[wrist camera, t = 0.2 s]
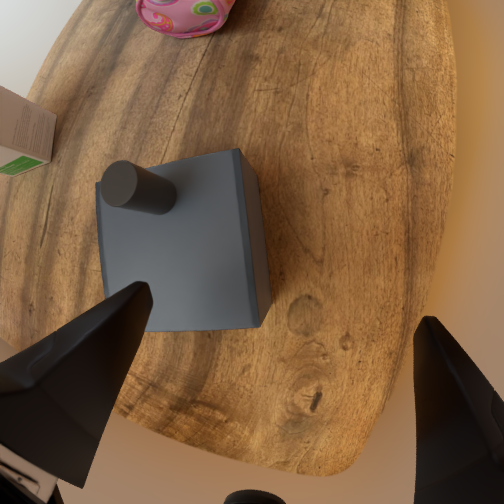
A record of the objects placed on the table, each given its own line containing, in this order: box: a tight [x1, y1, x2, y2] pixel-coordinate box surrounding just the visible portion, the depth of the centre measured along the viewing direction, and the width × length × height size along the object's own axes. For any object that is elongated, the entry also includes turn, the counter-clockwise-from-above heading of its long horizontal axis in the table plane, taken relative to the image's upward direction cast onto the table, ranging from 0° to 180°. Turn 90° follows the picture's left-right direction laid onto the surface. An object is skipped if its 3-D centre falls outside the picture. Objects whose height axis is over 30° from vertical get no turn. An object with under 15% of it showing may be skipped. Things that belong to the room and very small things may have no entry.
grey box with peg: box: [96, 148, 272, 332], centre depth 18 cm, size 12×10×10 cm
